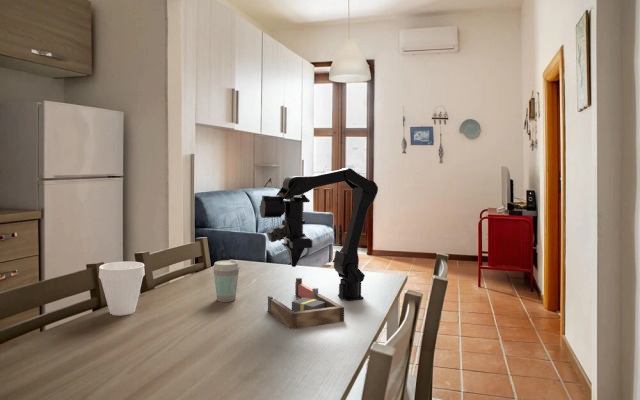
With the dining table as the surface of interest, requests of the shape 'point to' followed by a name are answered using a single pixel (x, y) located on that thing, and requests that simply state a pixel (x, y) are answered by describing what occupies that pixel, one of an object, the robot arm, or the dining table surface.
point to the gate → (304, 290)
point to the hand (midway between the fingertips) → (293, 266)
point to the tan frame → (307, 313)
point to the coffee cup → (226, 279)
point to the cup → (121, 285)
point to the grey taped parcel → (307, 304)
